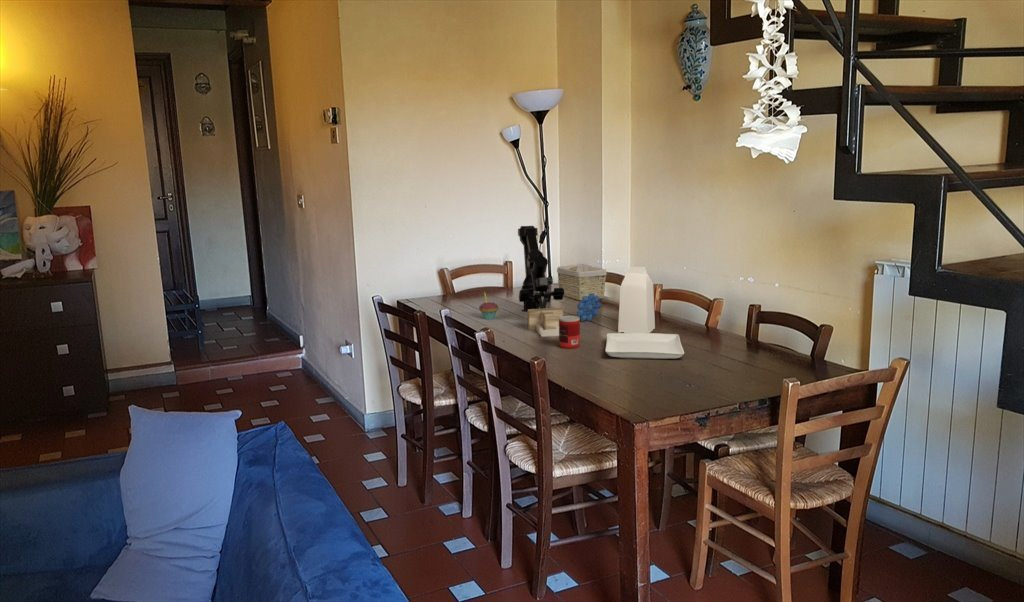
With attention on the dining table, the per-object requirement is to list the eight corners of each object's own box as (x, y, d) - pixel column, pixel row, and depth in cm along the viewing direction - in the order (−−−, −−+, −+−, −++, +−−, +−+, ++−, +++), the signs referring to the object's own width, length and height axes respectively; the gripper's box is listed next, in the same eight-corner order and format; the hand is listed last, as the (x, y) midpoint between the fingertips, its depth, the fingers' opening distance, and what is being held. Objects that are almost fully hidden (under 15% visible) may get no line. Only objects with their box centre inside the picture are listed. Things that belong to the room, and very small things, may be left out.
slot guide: (536, 330, 311) (536, 324, 311) (556, 329, 312) (556, 323, 312) (541, 336, 300) (541, 330, 300) (561, 335, 301) (561, 329, 301)
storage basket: (555, 294, 388) (555, 265, 385) (583, 291, 394) (583, 263, 392) (579, 302, 367) (578, 272, 364) (607, 299, 373) (607, 269, 370)
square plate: (605, 361, 265) (605, 350, 264) (606, 341, 291) (606, 332, 290) (684, 362, 261) (684, 351, 260) (678, 342, 287) (678, 332, 287)
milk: (618, 332, 304) (618, 268, 299) (626, 326, 315) (626, 263, 310) (647, 334, 299) (648, 269, 294) (655, 328, 310) (655, 265, 305)
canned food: (582, 344, 287) (581, 315, 285) (576, 349, 279) (576, 320, 277) (562, 343, 289) (562, 315, 287) (556, 348, 282) (556, 319, 280)
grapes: (595, 317, 332) (595, 290, 329) (603, 320, 326) (603, 293, 323) (572, 320, 327) (572, 293, 325) (579, 323, 321) (579, 295, 319)
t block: (528, 328, 315) (527, 309, 313) (561, 326, 317) (560, 307, 315) (533, 336, 301) (533, 316, 300) (568, 334, 303) (568, 314, 301)
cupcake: (476, 319, 334) (475, 292, 332) (484, 315, 342) (483, 289, 339) (494, 320, 331) (493, 293, 328) (501, 316, 338) (501, 290, 336)
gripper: (519, 270, 315) (523, 302, 307) (563, 268, 318) (569, 299, 309) (516, 285, 324) (521, 316, 316) (559, 283, 327) (565, 314, 318)
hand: (544, 311), depth 315 cm, fingers closed, pressing on t block
